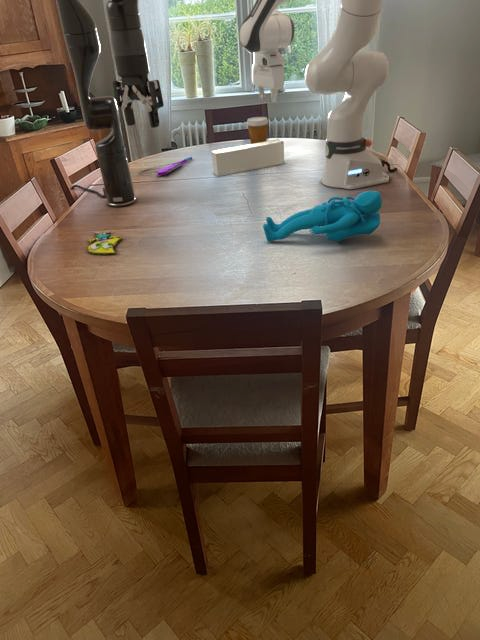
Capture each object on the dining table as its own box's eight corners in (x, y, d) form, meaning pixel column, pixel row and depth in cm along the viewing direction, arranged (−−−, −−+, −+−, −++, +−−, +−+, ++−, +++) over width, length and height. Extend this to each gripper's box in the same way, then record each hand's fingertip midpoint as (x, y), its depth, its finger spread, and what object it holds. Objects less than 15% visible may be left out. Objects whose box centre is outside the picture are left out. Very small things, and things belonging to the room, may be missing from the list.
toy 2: (268, 204, 133) (379, 177, 123) (278, 239, 138) (385, 216, 128) (257, 229, 119) (380, 200, 109) (269, 266, 124) (388, 242, 114)
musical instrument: (136, 181, 187) (185, 170, 185) (134, 175, 186) (183, 165, 184) (148, 168, 208) (192, 158, 206) (147, 163, 207) (191, 153, 205)
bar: (278, 160, 193) (278, 139, 189) (284, 163, 189) (283, 141, 185) (213, 173, 185) (211, 151, 181) (218, 176, 181) (215, 153, 177)
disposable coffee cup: (269, 149, 209) (268, 120, 203) (248, 151, 210) (246, 121, 203) (269, 144, 217) (267, 115, 210) (248, 145, 217) (246, 117, 211)
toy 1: (125, 229, 140) (115, 251, 128) (126, 232, 141) (116, 254, 128) (91, 232, 140) (77, 253, 128) (92, 234, 141) (78, 256, 128)
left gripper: (97, 55, 113) (113, 127, 122) (139, 53, 105) (152, 131, 114) (121, 51, 118) (134, 121, 127) (163, 49, 110) (174, 124, 119)
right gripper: (246, 58, 177) (249, 98, 185) (270, 60, 161) (271, 105, 169) (262, 56, 179) (264, 96, 186) (287, 58, 163) (287, 102, 170)
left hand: (143, 126), depth 120 cm, fingers open, 8 cm apart
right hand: (268, 100), depth 177 cm, fingers open, 8 cm apart
